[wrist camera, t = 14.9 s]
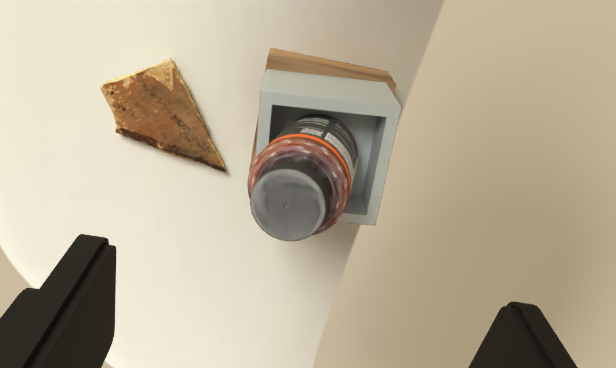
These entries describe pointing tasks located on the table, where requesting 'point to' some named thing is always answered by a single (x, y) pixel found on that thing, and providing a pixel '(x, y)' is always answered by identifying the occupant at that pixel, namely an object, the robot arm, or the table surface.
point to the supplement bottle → (303, 178)
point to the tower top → (347, 109)
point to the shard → (161, 113)
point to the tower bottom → (320, 71)
